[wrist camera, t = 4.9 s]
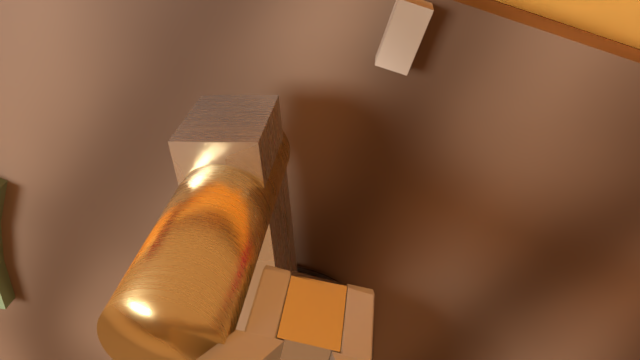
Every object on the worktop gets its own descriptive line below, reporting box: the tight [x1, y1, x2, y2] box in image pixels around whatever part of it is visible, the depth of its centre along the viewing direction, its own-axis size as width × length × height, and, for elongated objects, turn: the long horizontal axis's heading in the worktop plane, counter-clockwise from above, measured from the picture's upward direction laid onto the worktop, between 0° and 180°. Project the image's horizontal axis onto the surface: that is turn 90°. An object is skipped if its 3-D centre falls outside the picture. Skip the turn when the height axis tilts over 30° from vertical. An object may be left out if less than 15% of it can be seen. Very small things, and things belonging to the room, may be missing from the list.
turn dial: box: [97, 95, 374, 360], centre depth 14 cm, size 12×6×7 cm, turn 3°
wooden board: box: [0, 0, 640, 360], centre depth 19 cm, size 24×24×2 cm
